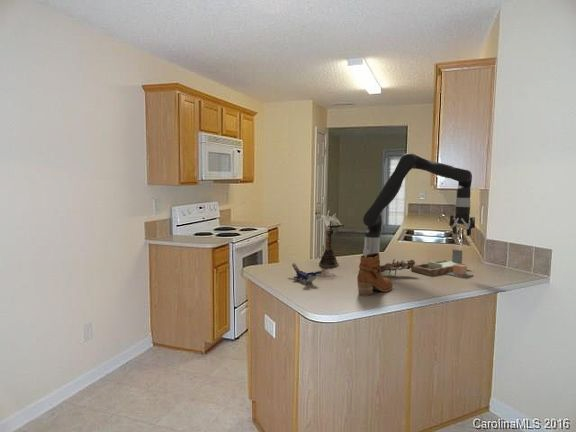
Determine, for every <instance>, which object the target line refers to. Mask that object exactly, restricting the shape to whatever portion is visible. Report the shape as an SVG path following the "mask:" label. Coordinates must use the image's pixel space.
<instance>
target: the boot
mask: <svg viewBox="0 0 576 432" xmlns="http://www.w3.org/2000/svg"><path fill="white" fill-rule="evenodd" d="M380 264H381V260H380V252H379V253H373V254H367V256H366V258H365V256H364V255H363V254H362V255H361V256H360V262H359V264H358V265H359V266H358V269H359V270H358V273H357V274H358V275H357V277H356V280H357V289H358V290H357V291H358V295H359V296H361V297H367V296H372V295H373V290H375V291H378V292H382V293H388V292H389V291H390V290H392V289H393V281H392V280H391V279H390V278H388V277H384V276H383V275H382V273H381V272H380V266H381V265H380Z"/></svg>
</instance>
